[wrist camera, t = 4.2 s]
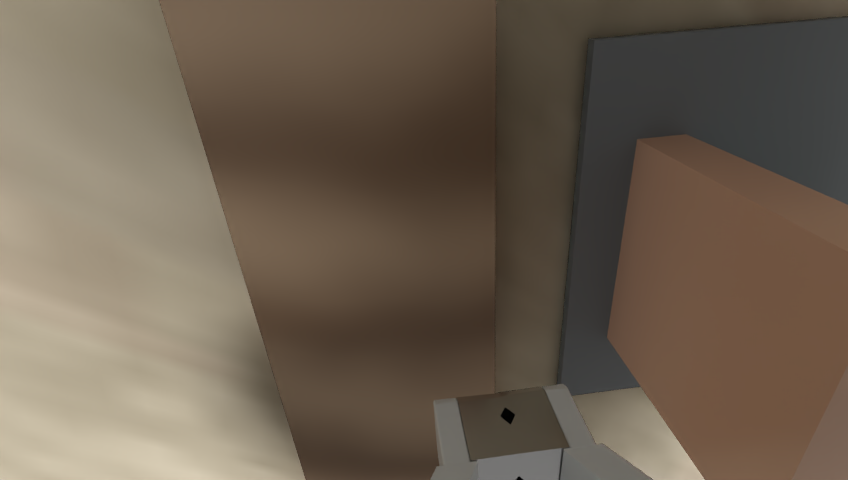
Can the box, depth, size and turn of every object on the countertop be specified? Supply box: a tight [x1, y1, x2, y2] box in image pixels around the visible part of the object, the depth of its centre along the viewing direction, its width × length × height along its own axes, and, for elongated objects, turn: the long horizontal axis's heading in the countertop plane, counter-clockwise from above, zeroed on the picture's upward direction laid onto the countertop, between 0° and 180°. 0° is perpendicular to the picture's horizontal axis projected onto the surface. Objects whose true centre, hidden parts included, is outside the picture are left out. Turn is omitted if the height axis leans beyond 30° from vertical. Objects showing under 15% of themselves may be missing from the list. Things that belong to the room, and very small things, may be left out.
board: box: [159, 0, 496, 480], centre depth 16 cm, size 20×8×1 cm, turn 4°
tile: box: [607, 134, 848, 480], centre depth 13 cm, size 8×2×8 cm, turn 4°
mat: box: [557, 16, 848, 396], centre depth 17 cm, size 14×12×1 cm
